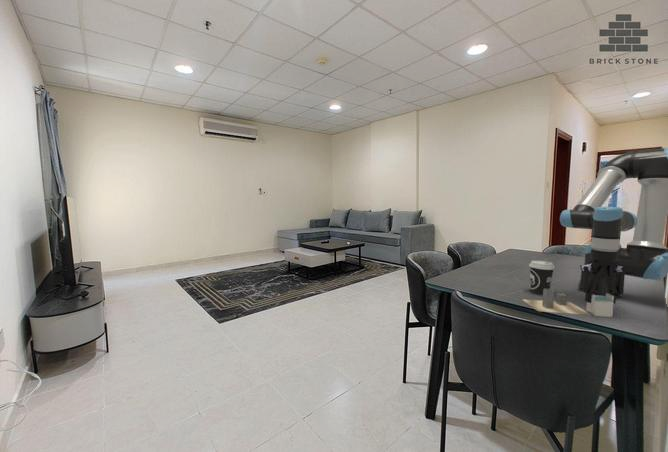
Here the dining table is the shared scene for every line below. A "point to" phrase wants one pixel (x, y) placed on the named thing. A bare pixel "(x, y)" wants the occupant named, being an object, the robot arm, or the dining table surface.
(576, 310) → the board
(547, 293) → the post tall
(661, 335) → the dining table surface
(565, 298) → the post short
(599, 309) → the white and green block
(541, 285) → the coffee cup
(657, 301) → the dining table surface
